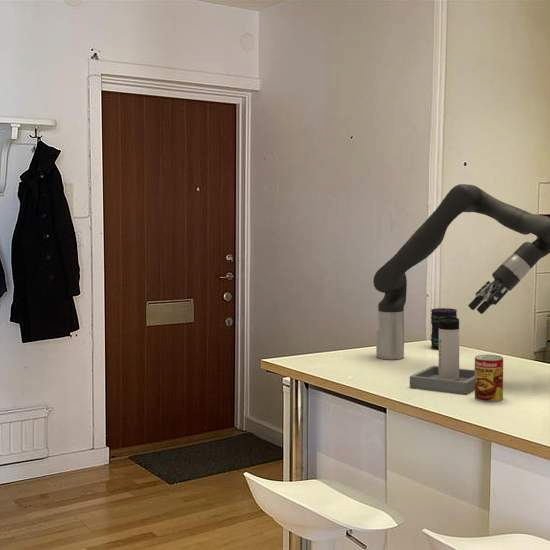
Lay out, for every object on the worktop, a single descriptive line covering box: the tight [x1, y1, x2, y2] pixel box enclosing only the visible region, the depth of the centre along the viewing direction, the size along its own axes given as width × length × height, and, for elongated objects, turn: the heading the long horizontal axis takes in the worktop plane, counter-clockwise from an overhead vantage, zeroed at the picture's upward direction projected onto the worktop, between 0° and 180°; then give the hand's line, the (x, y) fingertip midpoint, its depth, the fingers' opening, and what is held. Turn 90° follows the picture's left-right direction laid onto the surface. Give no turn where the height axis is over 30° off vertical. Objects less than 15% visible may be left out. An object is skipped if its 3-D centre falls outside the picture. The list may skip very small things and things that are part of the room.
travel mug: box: [438, 316, 460, 381], centre depth 245 cm, size 6×7×20 cm
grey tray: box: [409, 365, 475, 395], centre depth 245 cm, size 18×18×4 cm
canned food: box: [474, 354, 504, 403], centre depth 228 cm, size 8×8×12 cm
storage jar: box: [430, 307, 458, 351], centre depth 305 cm, size 10×10×15 cm
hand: (474, 310), depth 244 cm, fingers open, 8 cm apart
